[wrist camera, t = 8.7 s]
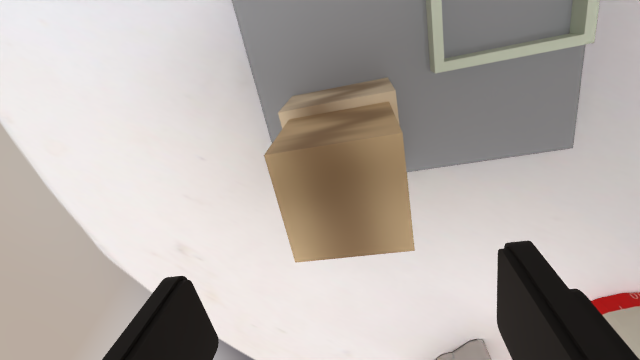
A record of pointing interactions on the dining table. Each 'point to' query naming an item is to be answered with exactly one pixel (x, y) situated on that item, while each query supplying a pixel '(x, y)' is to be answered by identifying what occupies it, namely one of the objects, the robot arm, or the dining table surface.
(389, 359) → the dining table surface
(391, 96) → the brown rectangular block
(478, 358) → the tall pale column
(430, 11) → the socket
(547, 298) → the robot arm
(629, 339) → the kitchen timer
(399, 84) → the board
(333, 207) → the cube
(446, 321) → the dining table surface
